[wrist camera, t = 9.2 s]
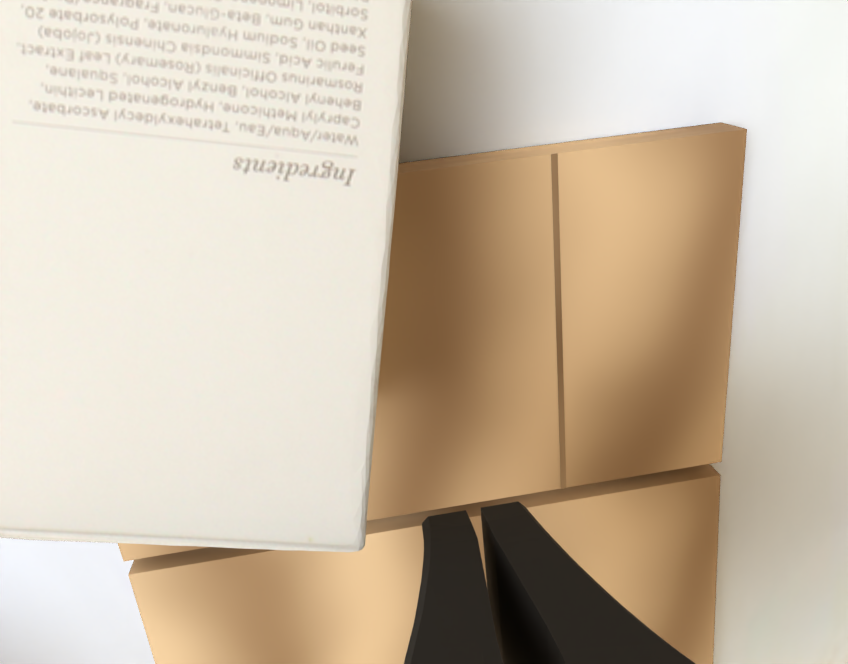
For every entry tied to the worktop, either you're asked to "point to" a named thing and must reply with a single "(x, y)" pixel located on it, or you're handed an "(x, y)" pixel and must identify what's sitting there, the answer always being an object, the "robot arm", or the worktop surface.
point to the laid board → (554, 318)
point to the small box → (195, 267)
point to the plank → (402, 571)
